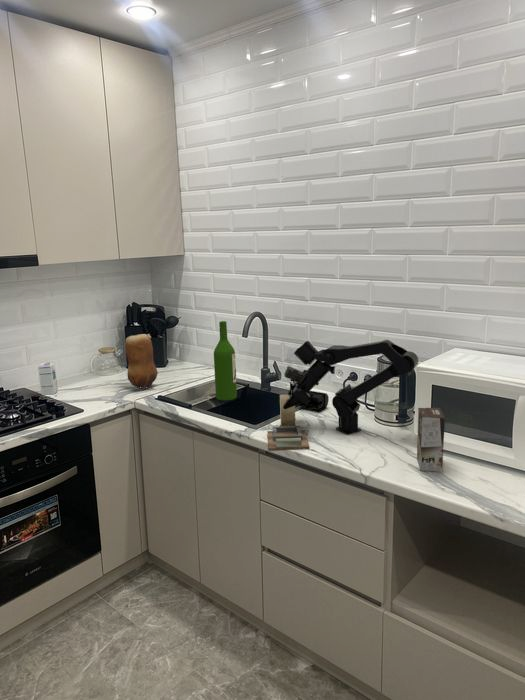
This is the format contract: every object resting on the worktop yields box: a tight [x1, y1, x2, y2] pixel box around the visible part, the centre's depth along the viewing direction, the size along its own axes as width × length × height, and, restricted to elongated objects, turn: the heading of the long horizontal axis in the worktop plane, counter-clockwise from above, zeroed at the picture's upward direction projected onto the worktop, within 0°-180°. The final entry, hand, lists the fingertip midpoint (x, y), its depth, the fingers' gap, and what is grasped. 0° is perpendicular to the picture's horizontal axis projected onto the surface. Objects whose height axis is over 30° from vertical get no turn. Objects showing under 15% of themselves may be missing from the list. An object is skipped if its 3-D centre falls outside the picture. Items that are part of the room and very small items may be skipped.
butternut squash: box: [124, 333, 159, 389], centre depth 241 cm, size 14×13×25 cm
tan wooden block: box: [279, 394, 296, 427], centre depth 187 cm, size 5×5×10 cm
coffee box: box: [416, 407, 446, 472], centre depth 153 cm, size 9×6×16 cm
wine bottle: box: [213, 320, 238, 402], centre depth 222 cm, size 9×9×32 cm
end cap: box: [298, 390, 329, 414], centre depth 207 cm, size 10×7×7 cm
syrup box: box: [37, 362, 59, 396], centre depth 235 cm, size 6×6×14 cm
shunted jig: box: [267, 425, 310, 451], centre depth 176 cm, size 15×13×3 cm
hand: (283, 405), depth 187 cm, fingers closed on tan wooden block, 5 cm apart
